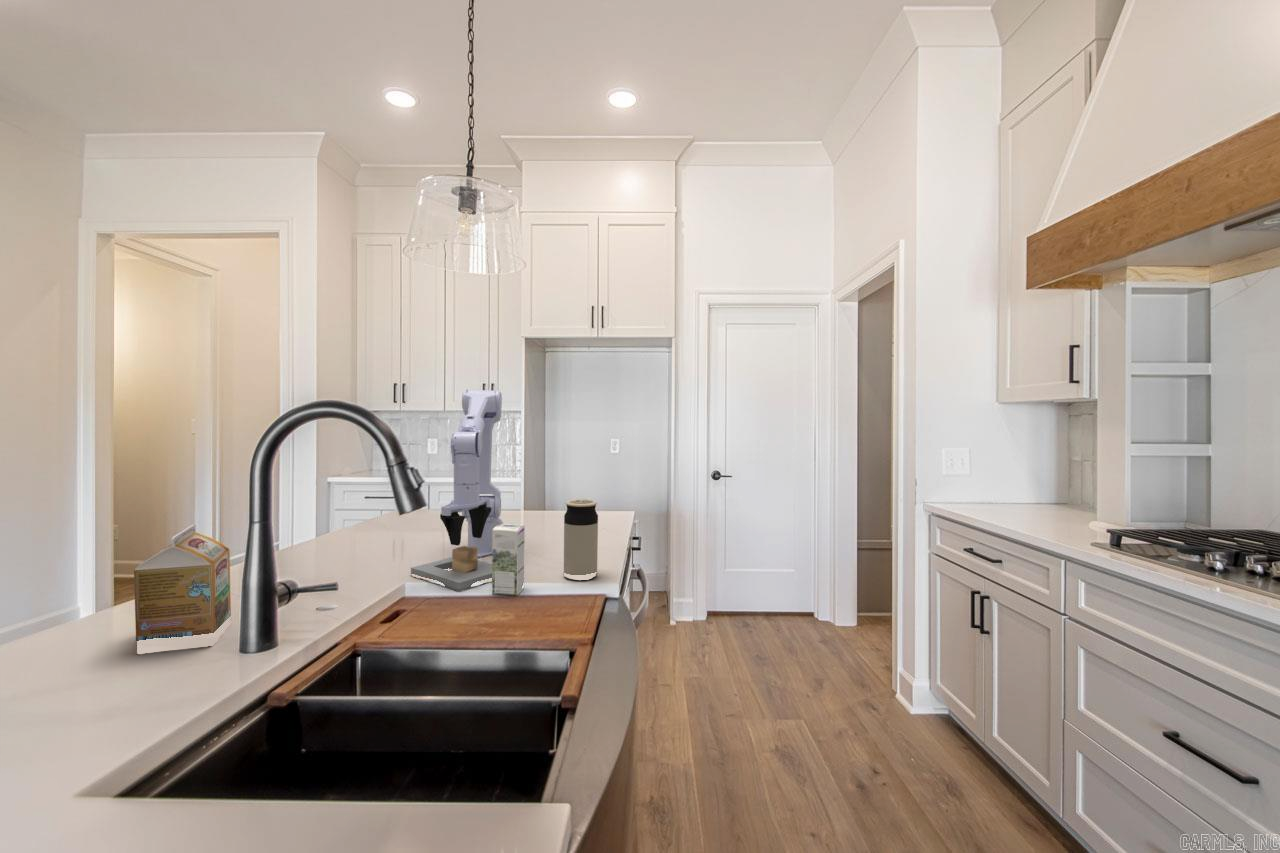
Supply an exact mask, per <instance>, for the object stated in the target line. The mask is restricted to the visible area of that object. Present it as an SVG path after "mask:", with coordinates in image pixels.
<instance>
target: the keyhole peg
mask: <svg viewBox="0 0 1280 853" xmlns="http://www.w3.org/2000/svg"><path fill="white" fill-rule="evenodd" d="M451 551H452V552H451V553H452V555H451V557H452V571H456V572H462V573H469V572H472V571H473V570H475V569H477V560H478V557H477V548H476V547H469V546H468V545H463V546H462V545H461V546H459V547H456V548H453V549H452V550H451Z"/></svg>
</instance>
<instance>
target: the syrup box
mask: <svg viewBox="0 0 1280 853" xmlns="http://www.w3.org/2000/svg"><path fill="white" fill-rule="evenodd" d="M525 530H526V529H525V524H511V523H510V524H509V523H503V524H499V525H497V526H496V527H495V528H493V529H492V554H491V559H492V560H491V561H492V562H491V564H492V582H491V583H492V584H491V590H492V591H491V592H492V593H491V594H492V595H499V596H500V595H501V596H518V595H519V594H520V593H521V592H522V591H523V590H522V586H523V583H524V584H525V541H526V540H525V538H526V535H525V534H526V533H525Z"/></svg>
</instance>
